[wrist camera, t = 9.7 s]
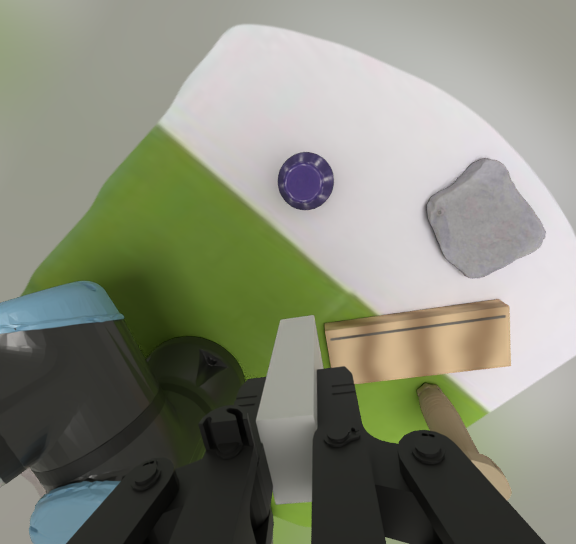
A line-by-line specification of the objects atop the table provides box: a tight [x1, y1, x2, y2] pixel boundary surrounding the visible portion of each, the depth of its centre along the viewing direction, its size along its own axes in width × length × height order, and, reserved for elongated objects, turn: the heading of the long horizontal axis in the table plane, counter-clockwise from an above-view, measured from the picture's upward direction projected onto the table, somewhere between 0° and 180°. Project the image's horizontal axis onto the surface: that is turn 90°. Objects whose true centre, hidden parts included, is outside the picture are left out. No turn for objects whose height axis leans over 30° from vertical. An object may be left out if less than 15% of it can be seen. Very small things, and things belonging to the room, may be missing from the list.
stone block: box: [427, 158, 546, 279], centre depth 39 cm, size 12×5×10 cm
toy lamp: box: [278, 152, 334, 210], centre depth 33 cm, size 5×5×17 cm
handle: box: [417, 383, 512, 500], centre depth 39 cm, size 5×6×15 cm
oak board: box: [324, 299, 511, 384], centre depth 44 cm, size 22×8×3 cm, turn 100°
